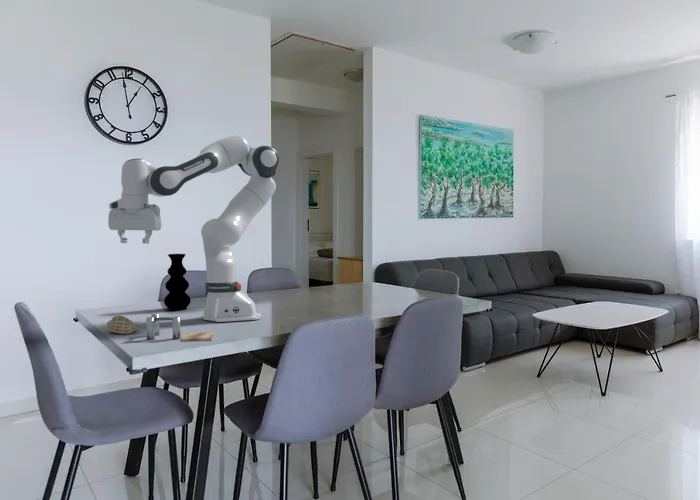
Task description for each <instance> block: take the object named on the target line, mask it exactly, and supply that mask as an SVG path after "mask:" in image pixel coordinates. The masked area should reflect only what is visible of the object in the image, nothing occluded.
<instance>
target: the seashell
mask: <svg viewBox="0 0 700 500" xmlns="http://www.w3.org/2000/svg"><path fill="white" fill-rule="evenodd" d="M106 325H107V327H106V328H107V330H109V331H110V332H112V333H116V334H119V335H120V334H123V335H125V334H126V335H127V334H128V335H129V334H133V333H134V332H135V331H136V330H138V329H139V328H140V327H139V325H138V324H135V322H134V321H132V320H130V318H128V317H125V316H122V315H116V316H113V317H112V319H110V320H108V321H107V322H106Z"/></svg>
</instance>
